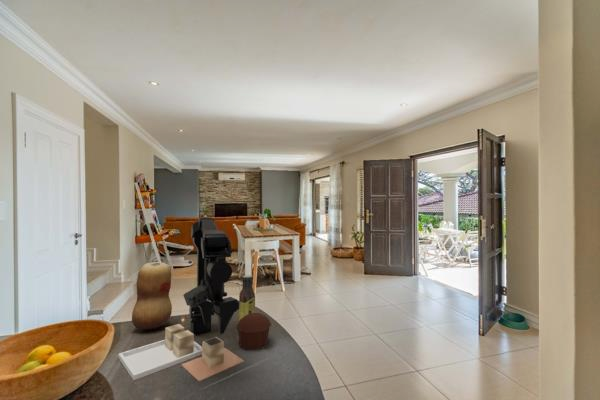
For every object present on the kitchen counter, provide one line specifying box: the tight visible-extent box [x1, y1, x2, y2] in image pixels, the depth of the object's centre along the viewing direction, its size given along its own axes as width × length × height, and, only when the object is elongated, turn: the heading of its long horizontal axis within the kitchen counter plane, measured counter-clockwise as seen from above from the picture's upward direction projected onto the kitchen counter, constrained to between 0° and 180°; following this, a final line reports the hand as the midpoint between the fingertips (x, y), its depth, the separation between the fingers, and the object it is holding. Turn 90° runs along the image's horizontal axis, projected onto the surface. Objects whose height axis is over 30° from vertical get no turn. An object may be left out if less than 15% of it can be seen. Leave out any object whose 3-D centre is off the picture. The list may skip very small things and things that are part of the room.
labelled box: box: [201, 336, 225, 368], centre depth 83 cm, size 4×4×6 cm
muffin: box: [236, 312, 272, 350], centre depth 96 cm, size 12×11×10 cm
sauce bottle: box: [237, 274, 256, 323], centre depth 109 cm, size 6×6×20 cm
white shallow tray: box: [117, 339, 202, 381], centre depth 87 cm, size 20×16×2 cm
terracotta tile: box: [181, 347, 245, 382], centre depth 83 cm, size 14×11×1 cm
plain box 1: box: [164, 323, 186, 351], centre depth 93 cm, size 4×4×6 cm
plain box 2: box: [173, 329, 195, 358], centre depth 88 cm, size 4×4×6 cm
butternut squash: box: [131, 261, 173, 331], centre depth 109 cm, size 14×13×25 cm
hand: (213, 329), depth 83 cm, fingers open, 9 cm apart
